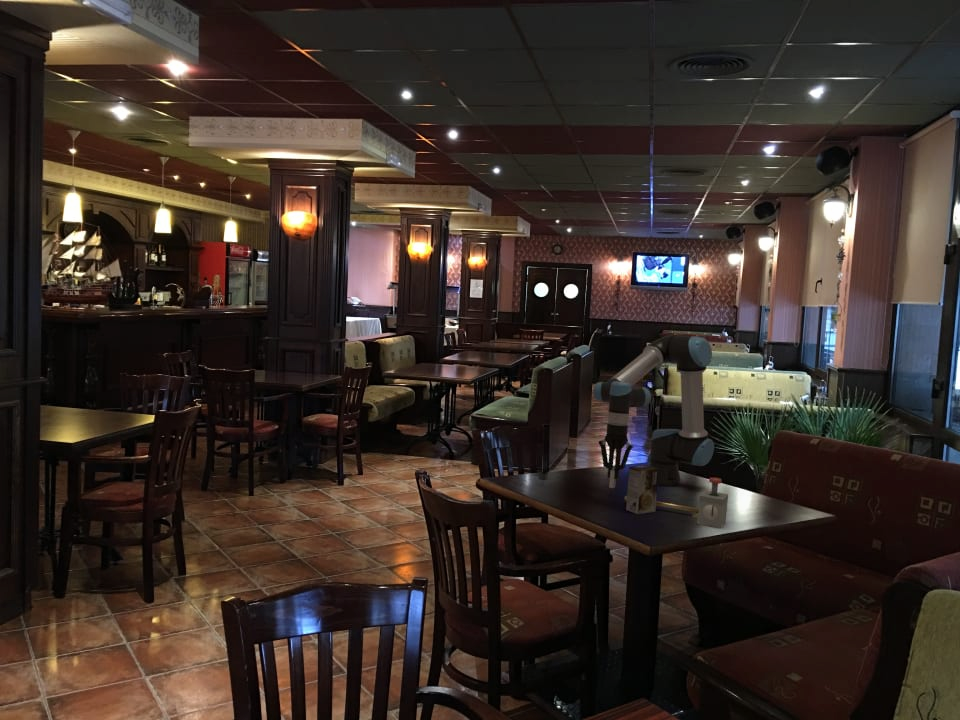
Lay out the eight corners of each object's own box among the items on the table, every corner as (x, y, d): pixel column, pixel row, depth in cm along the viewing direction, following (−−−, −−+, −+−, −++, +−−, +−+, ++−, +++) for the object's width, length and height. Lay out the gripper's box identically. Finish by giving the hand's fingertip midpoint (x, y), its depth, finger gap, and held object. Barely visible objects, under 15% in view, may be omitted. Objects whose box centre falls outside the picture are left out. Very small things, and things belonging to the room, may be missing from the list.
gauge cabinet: (702, 517, 271) (705, 490, 270) (725, 521, 268) (728, 494, 267) (696, 524, 262) (699, 496, 261) (720, 528, 258) (723, 500, 257)
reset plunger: (709, 491, 267) (710, 476, 266) (721, 493, 265) (722, 478, 265) (707, 493, 263) (708, 478, 263) (719, 495, 261) (720, 480, 261)
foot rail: (623, 504, 283) (623, 495, 283) (624, 502, 286) (625, 494, 285) (705, 518, 270) (705, 509, 270) (706, 517, 272) (707, 508, 272)
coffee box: (643, 507, 280) (646, 464, 279) (655, 512, 275) (659, 468, 274) (625, 509, 275) (628, 466, 274) (637, 514, 270) (641, 469, 269)
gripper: (597, 422, 277) (592, 485, 279) (632, 427, 272) (626, 492, 273) (603, 420, 284) (598, 482, 286) (637, 425, 278) (632, 488, 280)
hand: (612, 487), depth 279 cm, fingers closed
